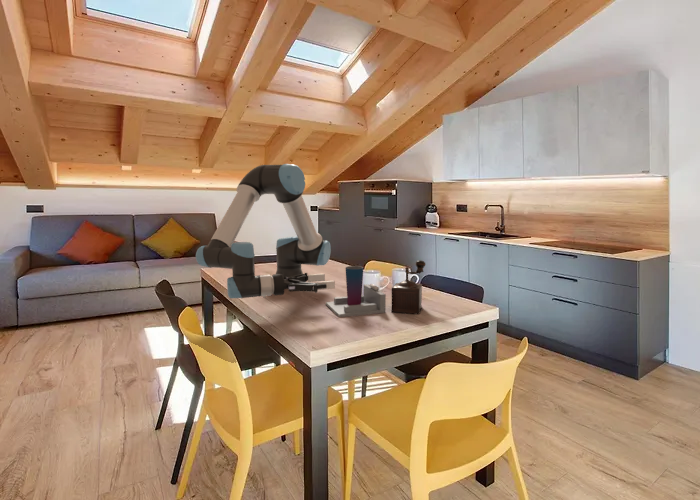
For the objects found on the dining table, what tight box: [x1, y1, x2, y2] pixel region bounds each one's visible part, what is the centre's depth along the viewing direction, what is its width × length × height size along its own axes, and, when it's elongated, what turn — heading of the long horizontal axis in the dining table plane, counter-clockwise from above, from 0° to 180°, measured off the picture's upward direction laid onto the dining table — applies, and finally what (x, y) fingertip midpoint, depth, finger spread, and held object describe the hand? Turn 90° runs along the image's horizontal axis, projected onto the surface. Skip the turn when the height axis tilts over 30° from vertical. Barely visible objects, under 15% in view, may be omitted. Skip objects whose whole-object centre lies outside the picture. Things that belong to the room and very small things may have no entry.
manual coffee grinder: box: [391, 259, 426, 315], centre depth 160 cm, size 16×11×18 cm
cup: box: [345, 265, 364, 305], centre depth 160 cm, size 7×7×15 cm
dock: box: [325, 283, 387, 318], centre depth 160 cm, size 18×18×9 cm
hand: (329, 280), depth 156 cm, fingers open, 13 cm apart
